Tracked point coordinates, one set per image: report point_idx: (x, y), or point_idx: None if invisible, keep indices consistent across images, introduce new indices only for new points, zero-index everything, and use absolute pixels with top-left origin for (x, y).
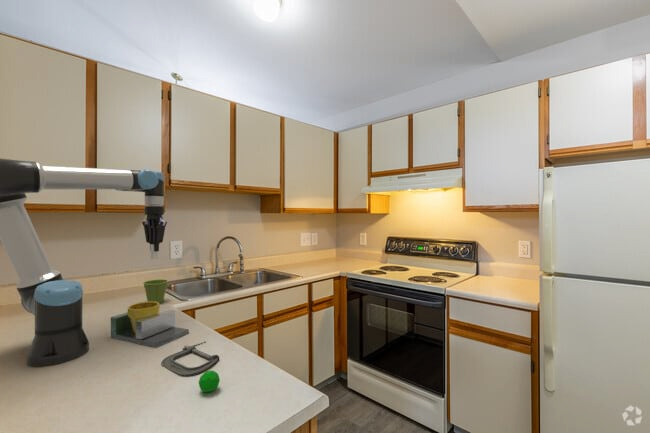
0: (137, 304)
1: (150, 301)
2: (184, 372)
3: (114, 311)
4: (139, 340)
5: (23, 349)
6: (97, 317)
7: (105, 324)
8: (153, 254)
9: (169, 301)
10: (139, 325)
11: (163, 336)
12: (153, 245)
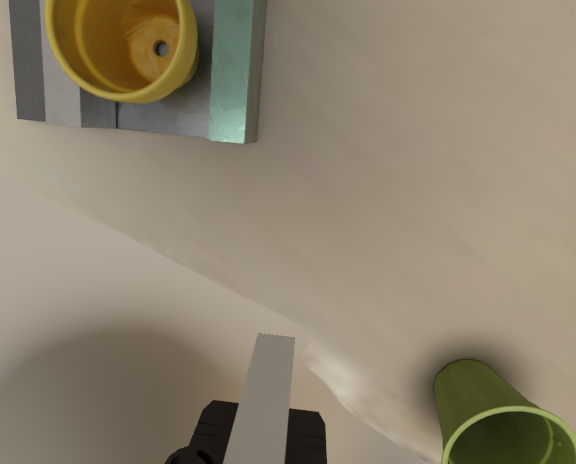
0: (178, 40)
1: (468, 365)
2: None
3: (550, 243)
4: None
5: None
6: (553, 157)
7: (430, 97)
8: (250, 368)
9: (418, 415)
10: None
11: (40, 25)
12: (225, 460)
